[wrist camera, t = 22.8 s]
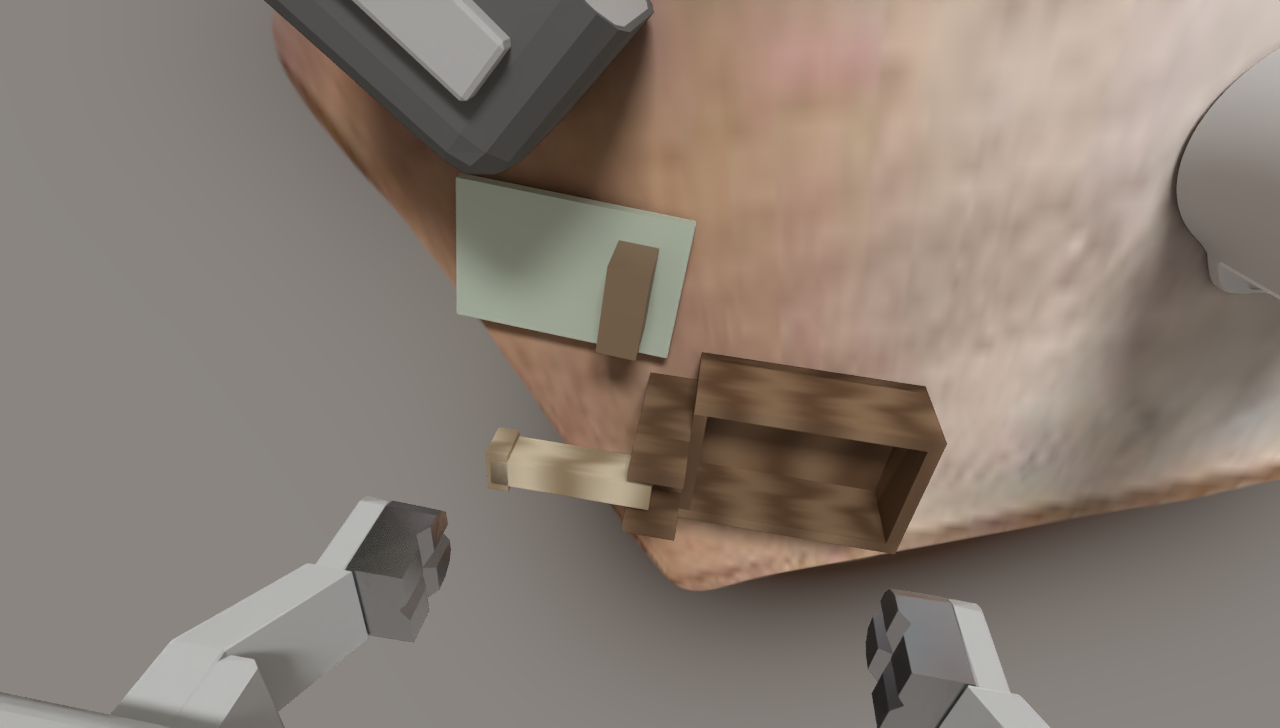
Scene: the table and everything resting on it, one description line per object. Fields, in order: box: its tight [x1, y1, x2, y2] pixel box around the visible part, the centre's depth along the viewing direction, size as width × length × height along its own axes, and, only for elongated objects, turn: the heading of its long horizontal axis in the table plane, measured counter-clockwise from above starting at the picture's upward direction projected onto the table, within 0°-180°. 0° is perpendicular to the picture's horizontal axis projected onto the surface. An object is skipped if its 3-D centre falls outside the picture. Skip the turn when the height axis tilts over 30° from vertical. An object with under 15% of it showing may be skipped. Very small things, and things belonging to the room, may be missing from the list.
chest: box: [622, 352, 947, 554], centre depth 51 cm, size 22×12×12 cm, turn 85°
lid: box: [456, 173, 696, 361], centre depth 48 cm, size 17×11×6 cm, turn 81°
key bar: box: [486, 427, 653, 510], centre depth 49 cm, size 12×4×3 cm, turn 85°
